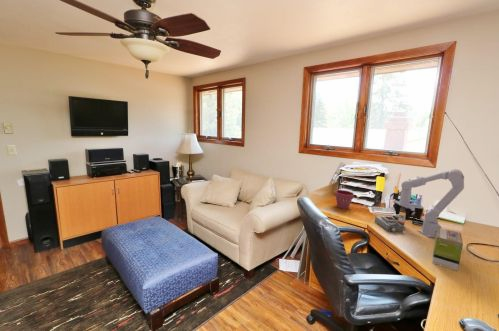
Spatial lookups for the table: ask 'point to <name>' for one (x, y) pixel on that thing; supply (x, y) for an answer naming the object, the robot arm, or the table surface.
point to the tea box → (447, 248)
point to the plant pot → (344, 198)
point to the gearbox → (389, 223)
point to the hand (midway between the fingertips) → (402, 216)
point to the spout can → (401, 220)
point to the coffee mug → (417, 211)
